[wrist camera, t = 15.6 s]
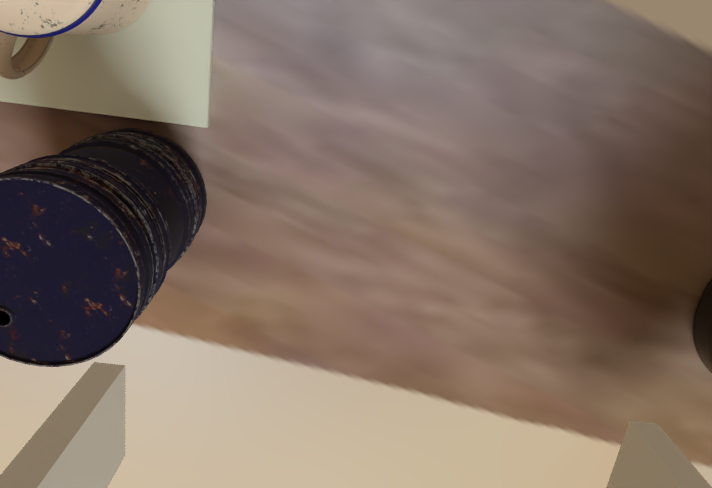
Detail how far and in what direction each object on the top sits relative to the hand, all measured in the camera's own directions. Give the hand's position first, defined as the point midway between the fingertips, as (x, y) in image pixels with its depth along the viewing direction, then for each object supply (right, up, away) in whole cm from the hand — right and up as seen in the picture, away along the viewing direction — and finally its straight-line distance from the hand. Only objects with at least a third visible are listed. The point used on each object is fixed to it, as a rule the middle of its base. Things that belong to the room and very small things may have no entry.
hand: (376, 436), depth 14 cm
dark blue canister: (-16, +9, +26) cm, 32 cm away
